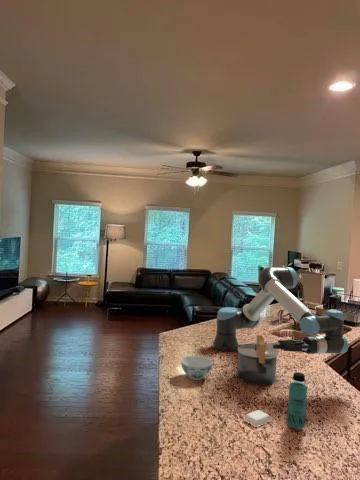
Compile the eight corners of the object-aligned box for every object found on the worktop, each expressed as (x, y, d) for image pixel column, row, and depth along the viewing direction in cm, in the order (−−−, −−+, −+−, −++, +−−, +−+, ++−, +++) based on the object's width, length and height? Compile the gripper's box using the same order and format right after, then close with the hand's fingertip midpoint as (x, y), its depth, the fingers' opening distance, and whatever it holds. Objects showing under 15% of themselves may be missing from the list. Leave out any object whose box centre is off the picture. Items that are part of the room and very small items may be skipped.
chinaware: (215, 374, 185) (215, 358, 185) (207, 386, 171) (207, 369, 171) (185, 369, 190) (186, 354, 190) (175, 380, 176) (176, 363, 176)
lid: (236, 344, 194) (237, 326, 194) (274, 347, 192) (275, 329, 192) (239, 364, 166) (240, 343, 166) (284, 367, 164) (285, 346, 164)
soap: (258, 415, 147) (258, 407, 147) (272, 422, 142) (272, 415, 142) (241, 421, 142) (242, 413, 142) (255, 429, 136) (256, 421, 136)
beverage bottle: (283, 423, 141) (286, 370, 140) (301, 423, 141) (304, 370, 140) (290, 433, 134) (293, 377, 133) (308, 433, 135) (311, 377, 134)
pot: (235, 366, 198) (236, 343, 198) (271, 368, 197) (272, 345, 196) (240, 392, 166) (241, 365, 166) (282, 395, 165) (284, 368, 164)
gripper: (321, 358, 167) (271, 359, 163) (306, 348, 180) (259, 349, 175) (322, 341, 167) (272, 341, 162) (307, 333, 180) (260, 333, 175)
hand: (265, 345), depth 169 cm, fingers closed
